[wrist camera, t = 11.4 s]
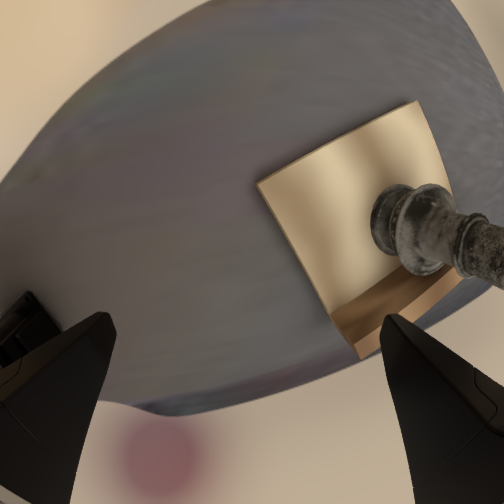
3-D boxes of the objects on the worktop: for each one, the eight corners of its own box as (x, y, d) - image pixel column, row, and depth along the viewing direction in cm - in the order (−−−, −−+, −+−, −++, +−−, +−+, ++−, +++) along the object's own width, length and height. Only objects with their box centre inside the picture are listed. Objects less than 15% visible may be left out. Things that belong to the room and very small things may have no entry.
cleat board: (331, 322, 21) (361, 359, 16) (254, 183, 18) (271, 187, 13) (453, 231, 21) (494, 246, 16) (408, 102, 17) (453, 92, 12)
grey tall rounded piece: (418, 262, 20) (537, 329, 8) (359, 256, 19) (491, 346, 7) (432, 189, 18) (566, 219, 7) (373, 171, 17) (532, 190, 6)
